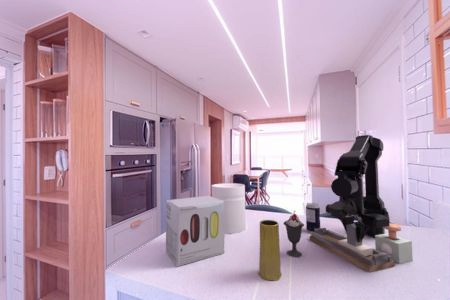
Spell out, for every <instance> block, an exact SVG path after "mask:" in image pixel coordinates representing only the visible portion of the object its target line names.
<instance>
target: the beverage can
mask: <svg viewBox="0 0 450 300" xmlns="http://www.w3.org/2000/svg"><path fill="white" fill-rule="evenodd" d="M320 209H321V208H320V206H319V204H318V203H314V202H308V203H306V206H305V224H306V227H305V228H306V231H308V232H309V233H311V232H315V231H314V229H317V228H321V210H320Z"/></svg>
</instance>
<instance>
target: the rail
mask: <svg viewBox="0 0 450 300" xmlns="http://www.w3.org/2000/svg"><path fill="white" fill-rule="evenodd" d="M314 231H315V232H310V235H309V241H311V242H313V243H315V244H317V245H318V246H320V247H321V248H324V249H326V250H327V251H329V252H331V253H333V254H335V255H337V256H338V257H341V258H342V259H343V260H346V261H348V262H350V263H351V264H353V265H355V266H357V267H358V268H360V269H363V271H366V272H367V273H373V272H376V271H377V272H378V271H381V270H386V269H389V268H394V267H395V262H394V261H392V256H390V255H388V254H387V253H382V252H380V251H378V250H376V248H373V255H368V256H364V255H362V254H360V253H358V252H355V251H353V250H351V249H349V248H347V247H345V246H343V245H341V244H339V243H338V240H344V239H347V236H344V235H341V234H340V233H336V232H335V231H333V230H330V229H327V227H320V228H317V229H314Z"/></svg>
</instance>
